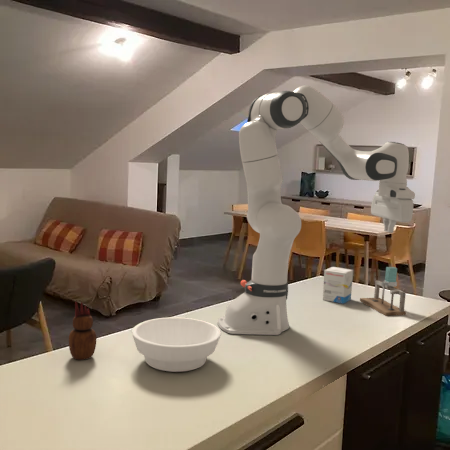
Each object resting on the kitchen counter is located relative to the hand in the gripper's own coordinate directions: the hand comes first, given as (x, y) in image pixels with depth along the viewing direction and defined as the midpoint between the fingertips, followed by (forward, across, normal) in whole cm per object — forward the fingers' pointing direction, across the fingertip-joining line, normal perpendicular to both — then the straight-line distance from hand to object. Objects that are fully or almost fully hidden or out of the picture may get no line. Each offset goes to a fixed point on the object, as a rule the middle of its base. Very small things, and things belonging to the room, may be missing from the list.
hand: (388, 232), depth 183 cm
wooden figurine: (+29, +25, -100) cm, 107 cm away
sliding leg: (+27, -8, +7) cm, 29 cm away
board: (+29, -8, +5) cm, 31 cm away
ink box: (+29, -20, -7) cm, 36 cm away
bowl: (+30, +31, -77) cm, 88 cm away
